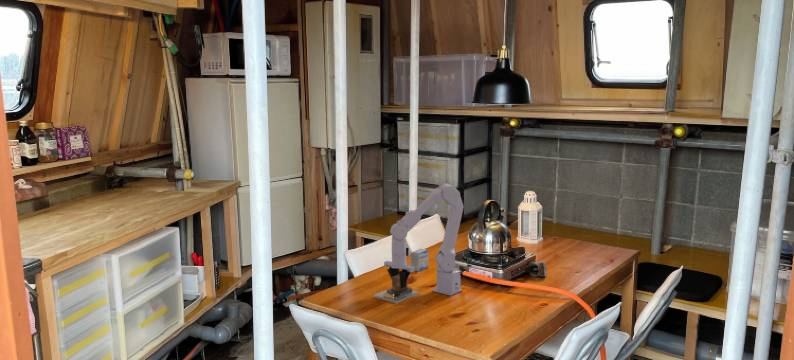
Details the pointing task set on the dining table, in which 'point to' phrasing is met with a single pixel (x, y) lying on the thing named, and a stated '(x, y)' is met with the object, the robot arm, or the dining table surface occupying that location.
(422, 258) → the medicine box
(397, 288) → the walnut wedge block
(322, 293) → the dining table surface
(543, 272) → the caster wheel
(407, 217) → the robot arm
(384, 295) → the steel rosette plate
